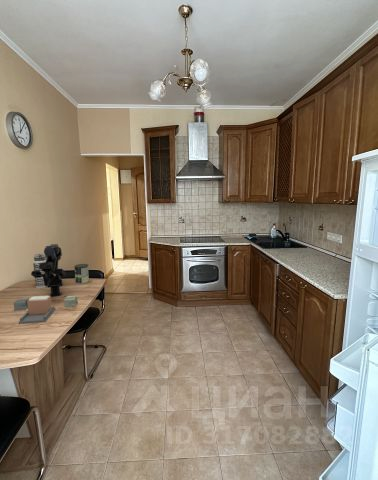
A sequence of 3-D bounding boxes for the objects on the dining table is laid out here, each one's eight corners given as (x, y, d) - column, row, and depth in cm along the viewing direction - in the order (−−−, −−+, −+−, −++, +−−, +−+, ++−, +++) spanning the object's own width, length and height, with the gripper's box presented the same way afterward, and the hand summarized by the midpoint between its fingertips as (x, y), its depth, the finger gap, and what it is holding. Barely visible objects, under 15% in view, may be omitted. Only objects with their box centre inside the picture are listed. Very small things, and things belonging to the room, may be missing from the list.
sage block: (67, 303, 159) (67, 296, 158) (77, 303, 160) (77, 295, 159) (64, 307, 153) (64, 299, 152) (75, 307, 154) (74, 299, 153)
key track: (31, 311, 147) (31, 307, 147) (55, 309, 150) (55, 305, 149) (18, 323, 132) (18, 319, 131) (45, 321, 134) (45, 317, 134)
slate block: (19, 306, 154) (18, 299, 153) (29, 306, 155) (29, 298, 154) (14, 310, 148) (13, 302, 147) (25, 310, 149) (24, 302, 148)
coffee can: (74, 285, 194) (73, 267, 192) (75, 281, 204) (74, 264, 202) (88, 283, 198) (88, 266, 196) (89, 279, 207) (88, 263, 205)
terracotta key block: (33, 310, 146) (31, 296, 144) (51, 309, 147) (50, 295, 146) (28, 314, 140) (27, 300, 138) (47, 313, 142) (46, 299, 140)
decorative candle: (51, 284, 196) (48, 253, 192) (44, 288, 187) (42, 255, 183) (39, 284, 195) (36, 253, 192) (32, 288, 186) (29, 255, 183)
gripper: (28, 258, 153) (22, 282, 145) (59, 256, 154) (55, 279, 146) (38, 266, 163) (33, 289, 155) (67, 263, 164) (63, 286, 156)
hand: (46, 286), depth 153 cm, fingers closed
